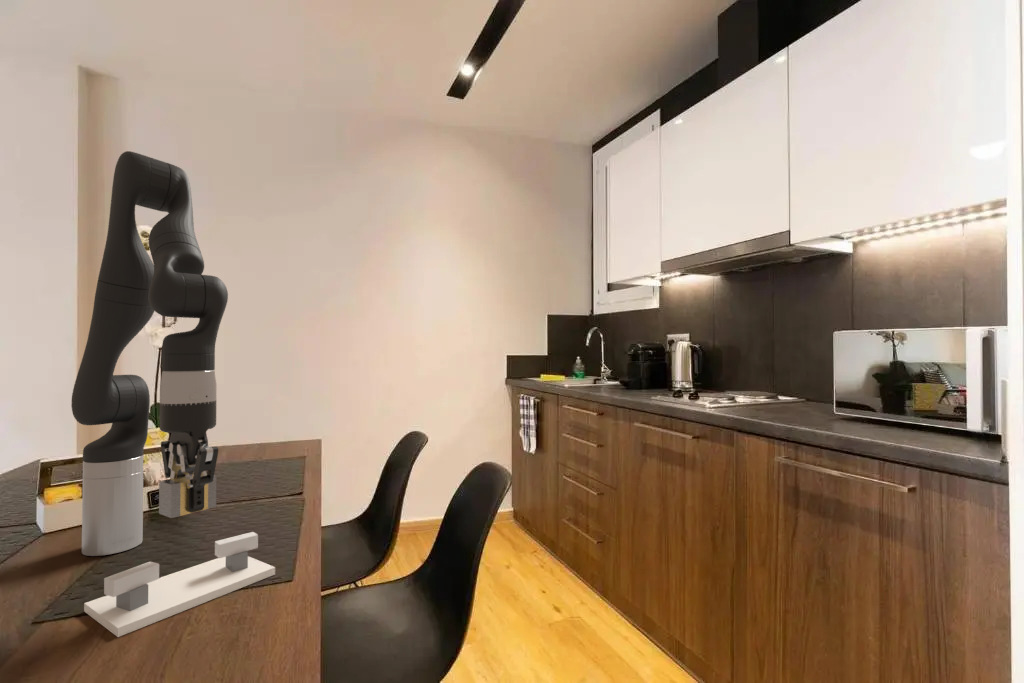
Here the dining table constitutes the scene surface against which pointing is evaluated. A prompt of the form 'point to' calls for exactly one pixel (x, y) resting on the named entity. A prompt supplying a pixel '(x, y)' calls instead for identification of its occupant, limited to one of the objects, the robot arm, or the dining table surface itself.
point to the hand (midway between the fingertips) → (188, 507)
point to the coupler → (182, 496)
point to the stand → (175, 586)
